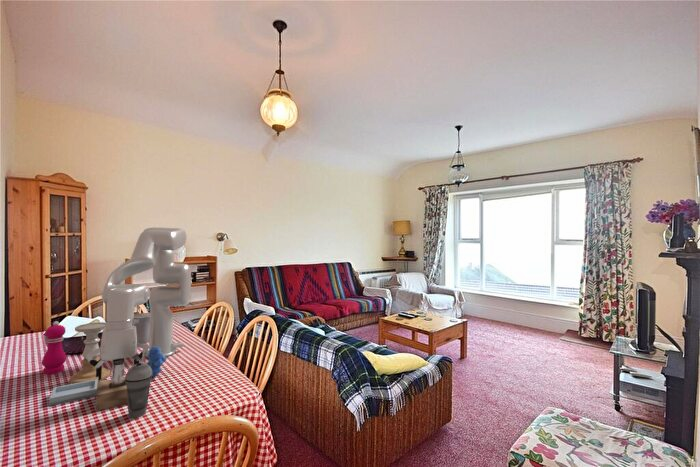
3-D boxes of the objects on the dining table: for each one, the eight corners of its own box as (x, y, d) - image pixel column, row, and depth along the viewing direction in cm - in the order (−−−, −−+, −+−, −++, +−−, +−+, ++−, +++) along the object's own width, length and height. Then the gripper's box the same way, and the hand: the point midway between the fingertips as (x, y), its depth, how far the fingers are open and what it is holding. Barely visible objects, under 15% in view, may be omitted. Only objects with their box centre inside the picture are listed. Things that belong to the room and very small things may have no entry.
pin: (122, 395, 110) (124, 356, 110) (122, 399, 108) (124, 359, 108) (111, 398, 108) (112, 358, 108) (111, 402, 106) (112, 361, 106)
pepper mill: (50, 376, 123) (53, 324, 123) (36, 374, 125) (38, 322, 125) (70, 369, 130) (72, 319, 131) (56, 367, 132) (58, 318, 132)
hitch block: (135, 388, 116) (136, 374, 116) (137, 401, 107) (138, 386, 107) (96, 396, 109) (97, 382, 109) (95, 411, 100) (96, 395, 100)
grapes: (171, 377, 125) (172, 346, 125) (152, 383, 120) (153, 351, 120) (161, 368, 133) (162, 340, 133) (142, 373, 128) (143, 343, 128)
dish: (97, 385, 117) (98, 379, 117) (96, 396, 109) (97, 388, 109) (53, 394, 109) (53, 387, 109) (49, 406, 102) (49, 398, 102)
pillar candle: (131, 339, 168) (132, 311, 168) (153, 337, 173) (153, 309, 173) (128, 345, 160) (129, 315, 160) (151, 343, 164) (152, 313, 164)
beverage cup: (132, 408, 103) (134, 345, 103) (155, 407, 103) (158, 345, 104) (117, 420, 95) (120, 353, 96) (143, 420, 96) (146, 353, 96)
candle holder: (64, 388, 114) (66, 331, 115) (74, 374, 125) (77, 323, 126) (106, 381, 120) (108, 328, 120) (113, 369, 131) (115, 320, 131)
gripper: (149, 318, 116) (147, 366, 116) (87, 325, 106) (85, 377, 106) (151, 323, 110) (148, 373, 110) (86, 330, 100) (83, 385, 100)
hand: (117, 375), depth 108 cm, fingers open, 9 cm apart
